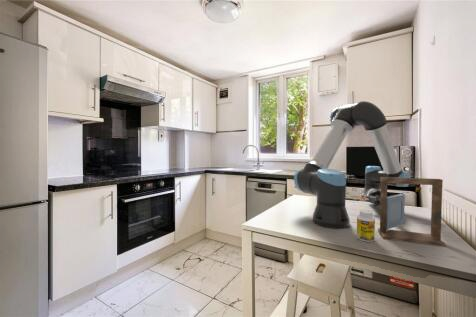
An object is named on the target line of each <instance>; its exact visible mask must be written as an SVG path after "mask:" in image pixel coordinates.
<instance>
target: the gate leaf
mask: <svg viewBox="0 0 476 317" xmlns="http://www.w3.org/2000/svg"><path fill="white" fill-rule="evenodd" d="M405 197H406V196H405V194H403V193H400V194H399V193H398V194H394V195H390V196H387V217H386V229H389V230H391V229H393V228H395V227H399V226H401V225H404V224H405V207H406V206H405V205H406V204H405V199H406V198H405Z"/></svg>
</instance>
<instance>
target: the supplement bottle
mask: <svg viewBox="0 0 476 317" xmlns="http://www.w3.org/2000/svg"><path fill="white" fill-rule="evenodd" d="M373 216H374V214H373V211H371V210H364V209H361V210H359V215H357V216H356V238H357V239H358V240H359V241H362V242H365V243H372V242H374V241H375V233H376V231H375V230H376V228H375V227H376V219H375V218H374V217H373Z"/></svg>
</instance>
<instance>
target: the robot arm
mask: <svg viewBox="0 0 476 317" xmlns="http://www.w3.org/2000/svg"><path fill="white" fill-rule="evenodd" d="M329 117H330V119H329V120H330V122H329V123H330V129H329V130H328V132H327V134H326V135H325V138H323V140H322V142H321V144H320V146H319V147H318V149H317V150H316V153H315V155H314V156H313V158H311V159H312V160H311V161H310V162H306V163H305V164H304V167H303V168H301V169H298V170H297V171H296V172H295V173H294V177H293V182H294V186H295V188H296V189H297V190H299V191H300V192H302V193H305V194H310V195H313V196H316V205H315V208H314V211H313V214H312V222H313V223H314V224H315V225H318V226H320V227H325V228H328V229H329V228H330V229H344V228H348V227H350V220H351V219H350V217H349V214H348V211H347V207H346V194H347V193H346V192H347V191H346V190H347V181H346V180H347V179H346V174H345V172H342V171H341V170H337V169H330V168H329V167H330V165H331V163H332V161H333V159H334V158H335V156H336V154H337V153H338V151H339V149H340V147H341V146H342V144H343V142H344V140H345V138H346V137H347V134H351V133H352V132H353V130H354V129H355V127H357V126H363V128H364V130H365V131H366V132H368V134H369V137H370V139H371V141H372V144H373V147H374V150H375V151H376V154H377V157H378V159H379V162H380V164H381V166H377V165H367V166H365V172H364V181H365V182H364V183H365V184H364V188H363V194H364V196H365V201H366V202H368V203H370V204H372V205H375V206H377V207H378V206H380V199H381V182H380V177H398V178H412V176H411V174H410V173H409V172H405V171H403V169H402V167H401V164H400V161H399V158H398V155H397V153H396V150H395V148H394V144H393V142H392V139H391V137H390V133H389V131H388V130H389V129H388V128H387V125H388V120H387V117H386V116H385V114H384V113H383V111H382V110H381V109H380V108H379V107H378V106H377V105H376V104H374V103H372V102H370V101H363V100H362V101H358V102H354V103H348V104H345V105H344V104H343V105H340V106H338V107H336V108H334V109H333V110H332V112H331V114H330V116H329ZM381 167H382V168H381ZM409 185H410V184H396V183H387V186H393V187H394V186H395V187H401V188H402V187H404V188H405V187H409Z"/></svg>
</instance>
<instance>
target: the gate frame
mask: <svg viewBox="0 0 476 317" xmlns="http://www.w3.org/2000/svg"><path fill="white" fill-rule="evenodd" d="M380 182H381V184H380V190H381V199H380V205H379V206H380V207H379V208H380V209H379V210H380V211H379V228H377V231H378V233H379V235H380V237H381V238H382V239H385V240H393V241H399V242H400V241H401V242H408V243H418V244H425V245H433V246H440V247H446V243H445V242H444V241H443V240H442V239H441V238H442V235H441V233H442V211H443V208H442V206H443V184H444V183H443V179H441V178H425V177H423V178H421V177H417V178H416V177H411V178H398V177H380ZM387 183H396V184H409V185H423V186H424V185H425V186H431V208H430V209H431V212H430V213H431V214H430V233H425V232H415V231H405V230H397V229H386V217H387V197H388V185H387Z"/></svg>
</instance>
